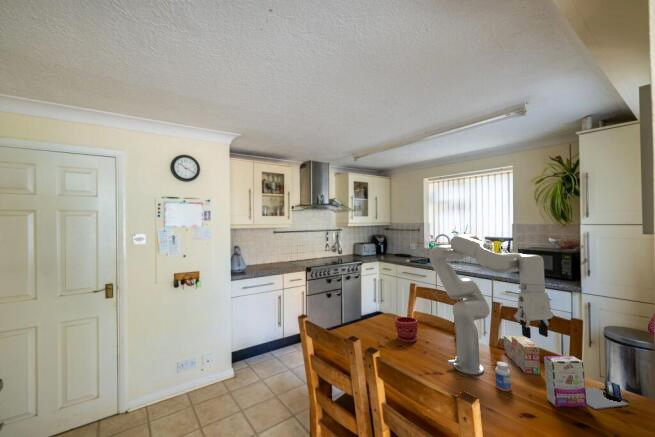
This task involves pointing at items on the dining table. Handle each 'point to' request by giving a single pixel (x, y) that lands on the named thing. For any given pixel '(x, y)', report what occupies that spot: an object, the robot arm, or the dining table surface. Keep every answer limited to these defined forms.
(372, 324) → the dining table surface
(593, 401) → the mat
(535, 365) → the printed cardboard carton
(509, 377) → the pill bottle
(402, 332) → the plant pot
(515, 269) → the robot arm
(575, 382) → the candy bar box
